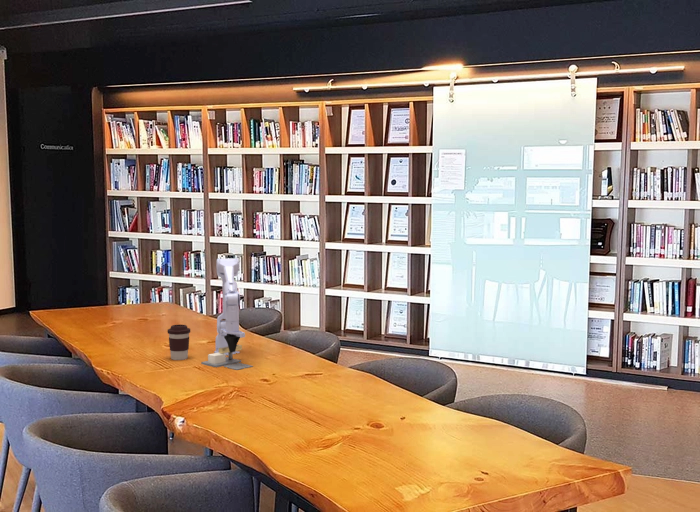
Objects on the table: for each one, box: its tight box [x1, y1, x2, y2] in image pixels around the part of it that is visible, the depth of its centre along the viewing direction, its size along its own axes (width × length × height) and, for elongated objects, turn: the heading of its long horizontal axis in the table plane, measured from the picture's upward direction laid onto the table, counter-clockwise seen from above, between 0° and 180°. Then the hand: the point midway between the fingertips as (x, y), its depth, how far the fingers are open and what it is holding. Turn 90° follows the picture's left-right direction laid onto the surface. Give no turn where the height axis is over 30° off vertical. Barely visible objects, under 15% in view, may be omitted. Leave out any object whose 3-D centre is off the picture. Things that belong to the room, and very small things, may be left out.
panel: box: [201, 352, 242, 368], centre depth 333 cm, size 10×14×5 cm
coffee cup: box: [167, 324, 191, 361], centre depth 342 cm, size 10×10×15 cm
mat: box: [223, 362, 254, 371], centre depth 328 cm, size 9×9×1 cm
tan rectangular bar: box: [219, 344, 243, 353], centre depth 337 cm, size 2×11×2 cm, turn 138°
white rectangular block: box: [207, 352, 227, 364], centre depth 332 cm, size 4×6×4 cm
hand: (232, 351), depth 332 cm, fingers closed
